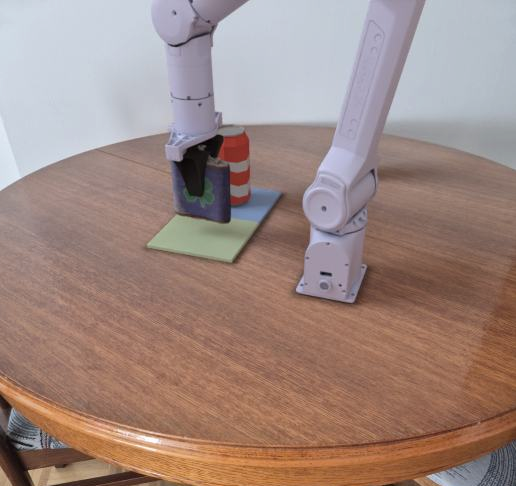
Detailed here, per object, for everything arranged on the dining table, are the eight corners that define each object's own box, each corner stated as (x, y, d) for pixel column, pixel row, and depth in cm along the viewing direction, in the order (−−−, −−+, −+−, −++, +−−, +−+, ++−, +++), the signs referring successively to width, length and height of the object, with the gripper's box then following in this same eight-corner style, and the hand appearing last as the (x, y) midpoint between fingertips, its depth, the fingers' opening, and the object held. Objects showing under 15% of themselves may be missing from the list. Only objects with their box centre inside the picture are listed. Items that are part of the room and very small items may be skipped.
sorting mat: (231, 263, 80) (231, 259, 79) (147, 247, 83) (146, 244, 83) (281, 194, 97) (281, 191, 96) (209, 184, 100) (209, 181, 100)
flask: (171, 214, 83) (166, 145, 76) (180, 206, 85) (175, 138, 78) (227, 226, 81) (227, 155, 74) (234, 217, 83) (234, 148, 76)
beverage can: (238, 211, 91) (235, 139, 83) (207, 203, 93) (201, 132, 85) (257, 197, 94) (255, 127, 87) (226, 189, 97) (222, 120, 89)
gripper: (188, 76, 78) (196, 168, 87) (138, 107, 68) (153, 208, 77) (233, 80, 76) (237, 173, 85) (189, 113, 66) (199, 215, 75)
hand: (200, 190), depth 81 cm, fingers closed on flask, 3 cm apart
